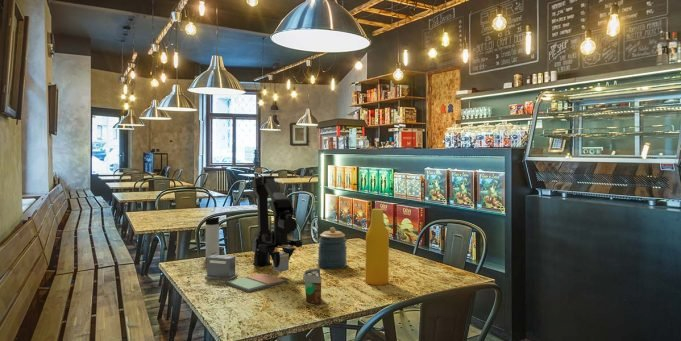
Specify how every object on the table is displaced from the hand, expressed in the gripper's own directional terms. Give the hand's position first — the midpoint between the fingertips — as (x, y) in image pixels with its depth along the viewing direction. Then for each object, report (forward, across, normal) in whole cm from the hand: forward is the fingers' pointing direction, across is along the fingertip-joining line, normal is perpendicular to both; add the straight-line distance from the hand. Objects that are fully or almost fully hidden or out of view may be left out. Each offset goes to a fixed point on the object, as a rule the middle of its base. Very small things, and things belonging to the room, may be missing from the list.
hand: (280, 266), depth 192 cm
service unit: (+4, +18, -16) cm, 25 cm away
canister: (+5, -28, +2) cm, 28 cm away
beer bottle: (+4, -22, +33) cm, 40 cm away
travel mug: (+5, +3, -48) cm, 48 cm away
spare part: (+2, 0, 0) cm, 2 cm away
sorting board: (+4, +13, +1) cm, 14 cm away
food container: (+4, +12, +32) cm, 34 cm away
